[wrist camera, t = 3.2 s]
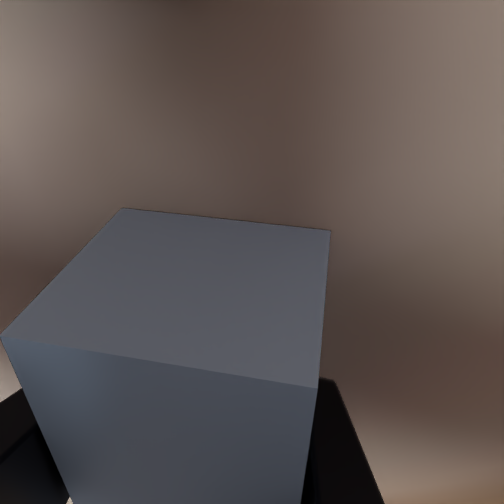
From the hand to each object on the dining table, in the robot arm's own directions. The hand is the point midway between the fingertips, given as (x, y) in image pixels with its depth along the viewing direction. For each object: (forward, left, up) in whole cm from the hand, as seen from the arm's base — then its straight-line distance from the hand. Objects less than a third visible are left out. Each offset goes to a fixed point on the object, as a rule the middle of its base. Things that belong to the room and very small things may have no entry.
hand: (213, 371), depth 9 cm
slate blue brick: (0, 0, -1) cm, 1 cm away
